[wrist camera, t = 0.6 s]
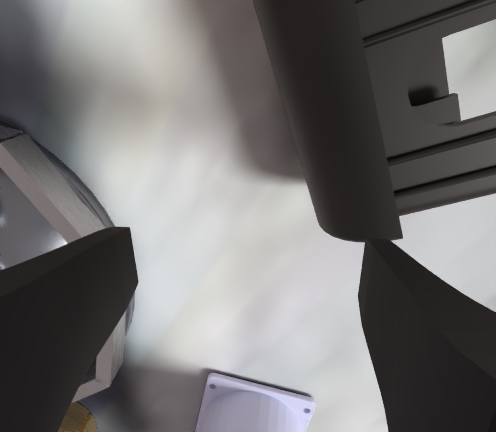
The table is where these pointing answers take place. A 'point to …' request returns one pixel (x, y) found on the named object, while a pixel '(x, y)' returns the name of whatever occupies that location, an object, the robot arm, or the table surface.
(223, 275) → the table surface
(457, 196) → the end cap
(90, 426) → the gold octagonal ring
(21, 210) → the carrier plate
